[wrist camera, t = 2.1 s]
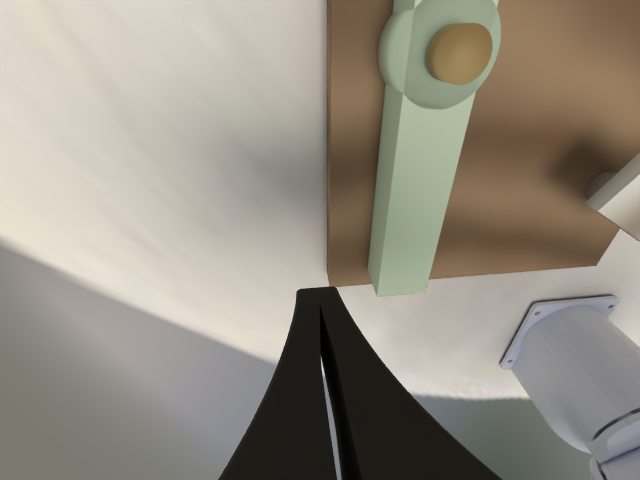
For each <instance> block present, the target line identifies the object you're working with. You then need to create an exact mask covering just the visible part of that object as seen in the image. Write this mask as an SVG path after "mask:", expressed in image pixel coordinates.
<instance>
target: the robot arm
mask: <svg viewBox="0 0 640 480" xmlns="http://www.w3.org/2000/svg"><path fill="white" fill-rule="evenodd" d="M618 302H619V298H617V297H616V296H605V297H594V298H583V299H572V300H561V301H550V302H539V303H535V304H534V305H533V306H532V307H531V309H530V311H529V313H528V314H527V316H526V318H525V320H524V322H523V324H522V325H521V327H520V329H519V331H518V333H517V335H516V336H515V338H514V340H513V342H512V344H511V346H510V348H509V349H508V351H507V353H506V355H505V357H504V359H503V360H502V362H501V364H500V366H501V368H502V369H504V370H506V369H511V370H512V371H513V373H514V374H515V376H516V377H517V379H518V380H519V382H520V383H521V385H522V386H523V388H524V389H525V391H526V392H527V394H528V395H529V397H530V398H531V400H532V401H533V402H534V404H535V405H536V407H537V408H538V410H539V411H540V413H541V414H542V416H543V417H544V419H545V420H546V422H547V423H548V424H549V426H550V427H551V428H552V429H553V430H554V431H555V432H556V434H558V435H559V436H560V437H561V438H562V439H563V440H565V441H566V442H567V443H569V444H570V445H572V446H573V447H575V448H577V449H579V450H581V451H584V452H587V453H591V454H592V455H593V456H594V457H593V458H591V460H590V469H591V477H592V480H640V347H639V346H637V345H636V344H635V343H634V342H633V341H632V340H631V339H630V338H628V337H627V336H626V335H625V334H624V333H623V332H622V331H621V330H619V329H618V328H617V327H616V326H615V325H614V324H613V323H612V322H610V321H609V320H608V319H607V317H608V316H609V314H610V313H611V312H612V310H613V309H614V308H615V306H616V305H617V304H618ZM321 358H322V363H323V368H324V373H325V378H326V382H327V387H328V392H329V397H330V402H331V407H332V412H333V417H334V423H335V428H336V436H337V444H338V452H339V461H340V469H341V478H342V480H502V479H501V478H500V477H499V476H498V475H496V474H495V473H494V472H493V471H492V470H490V469H489V468H488V467H487V466H485V465H484V464H483V463H482V462H481V461H480V460H479V459H477V458H476V457H475V456H474V455H473V454H472V453H471V452H470V451H468V450H467V449H466V448H465V447H464V446H463V445H461V444H460V443H459V442H458V441H457V440H456V439H455V438H454V437H453V436H452V435H451V434H450V433H449V432H448V431H446V430H445V429H444V428H443V427H442V426H441V425H440V424H439V423H438V422H437V421H436V420H435V419H434V418H433V417H432V416H431V415H430V414H429V413H428V412H427V411H426V410H425V409H424V408H423V407H422V406H421V405H420V404H419V403H418V402H417V401H416V400H415V399H414V398H413V397H412V395H411V394H410V393H409V392H408V391H407V390H406V389H405V388H404V387H403V386H402V384H401V383H400V382H399V381H398V380H397V379H396V377H395V376H394V375H393V374H392V373H391V372H390V370H389V369H388V368H387V367H386V365H385V364H384V363H383V362H382V360H381V359H380V358H379V357H378V355H377V354H376V352H375V351H374V350H373V348H372V347H371V346H370V344H369V343H368V341H367V340H366V339H365V337H364V336H363V334H362V333H361V331H360V330H359V328H358V327H357V325H356V323H355V322H354V320H353V319H352V317H351V315H350V314H349V312H348V310H347V308H346V307H345V305H344V303H343V301H342V299H341V297H340V295H339V292H338V290H337V288H336V287H334V286H331V287H319V288H306V289H299V290H298V291H297V294H296V305H295V310H294V315H293V319H292V323H291V326H290V330H289V333H288V337H287V340H286V343H285V346H284V349H283V352H282V354H281V357H280V360H279V363H278V365H277V368H276V370H275V373H274V375H273V377H272V380H271V382H270V384H269V387H268V389H267V391H266V393H265V395H264V398H263V400H262V402H261V404H260V406H259V408H258V410H257V412H256V414H255V416H254V418H253V420H252V422H251V424H250V426H249V427H248V429H247V431H246V433H245V435H244V437H243V438H242V440H241V442H240V443H239V445H238V447H237V449H236V450H235V452H234V454H233V456H232V458H231V459H230V461H229V463H228V465H227V466H226V468H225V469H224V471H223V473H222V475H221V476H220V478H219V479H218V480H337V476H336V469H335V463H334V456H333V448H332V441H331V435H330V428H329V421H328V414H327V406H326V399H325V392H324V384H323V376H322V369H321Z"/></svg>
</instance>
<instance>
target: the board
mask: <svg viewBox="0 0 640 480" xmlns="http://www.w3.org/2000/svg"><path fill="white" fill-rule="evenodd" d="M393 3H394V0H327V274H328V279H329V285H330V287H331V286H334V287H341V286H353V285H365V284H372V281H371V278H370V275H369V273H368V260H369V250H370V240H371V229H372V219H373V209H374V199H375V188H376V178H377V168H378V157H379V147H380V137H381V127H382V116H383V106H384V96H385V85H386V84H385V82H384V80H383V78H382V76H381V74H380V71H379V66H378V45H379V40H380V36H381V33H382V30H383V28H384V26H385V24H386V22H387V20H388V19H389V17H390V15H391V14H392V13H393ZM497 11H498V14H499V17H500V24H501V40H500V46H499V51H498V54H497V57H496V60H495V63H494V65H493V67H492V69H491V71H490V73H489V75H488V76H487V78H486V79H485V81H484V82H483V83H482V85H481V86H480V87H479V88H478V89H477V90H476V93H475V97H474V101H473V105H472V109H471V113H470V117H469V121H468V125H467V129H466V133H465V137H464V141H463V145H462V149H461V153H460V156H459V160H458V164H457V168H456V172H455V176H454V180H453V184H452V188H451V192H450V196H449V200H448V204H447V208H446V212H445V216H444V220H443V224H442V228H441V232H440V236H439V240H438V244H437V248H436V252H435V256H434V260H433V264H432V268H431V272H430V276H429V279H439V278H451V277H463V276H476V275H488V274H500V273H512V272H525V271H537V270H549V269H561V268H574V267H586V266H596V265H597V263H598V262H599V260H600V259H601V257H602V256H603V254H604V253H605V251H606V249H607V248H608V246H609V245H610V243H611V242H612V240H613V239H614V237H615V235H616V234H617V232H618V231H619V229H622V230H623V231H625V232H626V233H627V234H629V235H630V236H632V237H633V238H635V239H636V240H638V241H639V242H640V0H499V1H498V5H497ZM492 48H493V43H492V37H491V35H490V32H489V31H488V29H487V28H486V27H484V26H483V25H481V24H478V23H456V24H450V25H447V26H445V27H443V28H442V29H440V30H439V31H438V32H437V33H436V34H435V35H434V37H433V38H432V40H431V41H430V43H429V46H428V48H427V52H426V66H427V69H428V71H429V73H430V74H431V76H432V77H434V78H435V79H437V80H440V81H443V82H446V83H449V84H452V85H465V84H468V83H470V82H472V81H474V80H475V79H476V78H478V77H479V76H480V75H481V74H482V72H483V71H484V70H485V68H486V67H487V65H488V63H489V61H490V58H491V54H492Z"/></svg>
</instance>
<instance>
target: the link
mask: <svg viewBox="0 0 640 480" xmlns="http://www.w3.org/2000/svg"><path fill="white" fill-rule="evenodd" d="M498 1H499V0H394V3H393V13H392V14H391V15H390V17H389V19H388V20H387V22H386V24H385V26H384V28H383V30H382V33H381V36H380V40H379V45H378V66H379V71H380V74H381V76H382V78H383V80H384V82H385V84H386V85H385V96H384V106H383V116H382V127H381V137H380V147H379V157H378V168H377V178H376V188H375V199H374V209H373V219H372V229H371V240H370V250H369V260H368V273H369V275H370V278H371V281H372V284H373V287H374V289H375V292H376V295H377V297H379V296H391V295H403V294H415V293H425V292H426V288H427V284H428V280H429V276H430V272H431V268H432V264H433V260H434V256H435V252H436V248H437V244H438V240H439V236H440V232H441V228H442V224H443V220H444V216H445V212H446V208H447V204H448V200H449V196H450V192H451V188H452V184H453V180H454V176H455V172H456V168H457V164H458V160H459V156H460V153H461V149H462V145H463V141H464V137H465V133H466V129H467V125H468V121H469V117H470V113H471V109H472V105H473V101H474V97H475V93H476V90H477V89H478V88H479V87H480V86H481V85H482V83H483V82H484V81H485V79H486V78H487V76H488V75H489V73H490V71H491V69H492V67H493V65H494V63H495V60H496V57H497V54H498V51H499V46H500V40H501V24H500V17H499V14H498V11H497V5H498ZM456 23H478V24H481V25H483V26H484V27H486V28H487V29H488V31H489V32H490V35H491V37H492V43H493V48H492V54H491V58H490V61H489V63H488V65H487V67H486V68H485V70H484V71H483V72H482V74H481V75H480V76H479V77H478V78H476V79H475V80H474V81H472V82H470V83H468V84H465V85H452V84H449V83H446V82H443V81H440V80H437V79H435V78H434V77H432V76H431V74H430V73H429V71H428V69H427V66H426V52H427V48H428V46H429V43H430V41H431V40H432V38H433V37H434V35H435V34H436V33H437V32H438V31H439V30H440V29H442V28H443V27H445V26H447V25H450V24H456Z"/></svg>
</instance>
